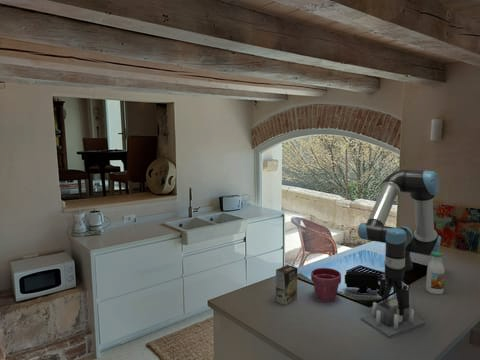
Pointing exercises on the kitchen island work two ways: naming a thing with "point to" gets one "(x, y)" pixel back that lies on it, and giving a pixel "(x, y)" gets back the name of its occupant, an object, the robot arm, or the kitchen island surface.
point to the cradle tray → (396, 327)
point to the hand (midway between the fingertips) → (392, 317)
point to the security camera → (362, 281)
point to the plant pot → (326, 283)
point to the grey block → (390, 311)
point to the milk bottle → (435, 274)
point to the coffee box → (286, 284)
